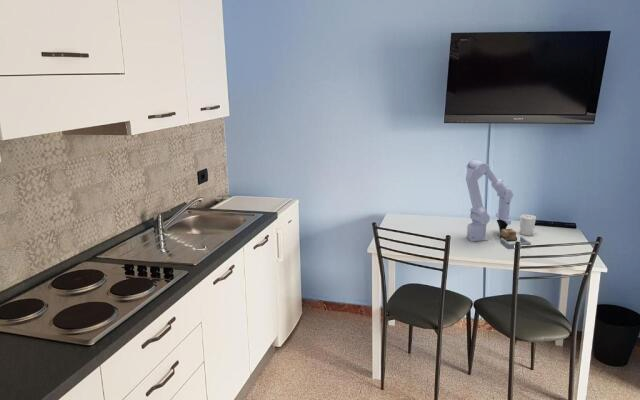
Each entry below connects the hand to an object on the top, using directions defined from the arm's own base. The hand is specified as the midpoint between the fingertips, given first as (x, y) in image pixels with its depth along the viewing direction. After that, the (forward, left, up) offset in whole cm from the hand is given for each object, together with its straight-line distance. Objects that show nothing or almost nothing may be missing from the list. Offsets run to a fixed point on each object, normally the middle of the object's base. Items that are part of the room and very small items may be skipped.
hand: (502, 232), depth 275 cm
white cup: (+14, -1, -2) cm, 14 cm away
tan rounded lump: (0, -8, -1) cm, 8 cm away
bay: (0, -16, -1) cm, 16 cm away
